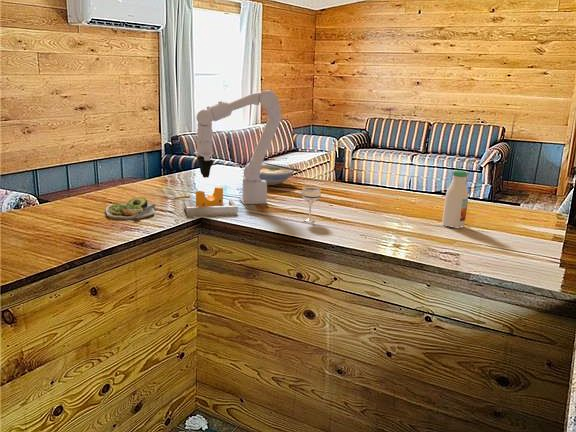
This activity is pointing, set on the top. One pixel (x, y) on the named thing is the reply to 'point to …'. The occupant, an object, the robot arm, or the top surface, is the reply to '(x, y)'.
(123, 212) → the salad plate
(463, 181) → the milk bottle
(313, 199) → the wineglass
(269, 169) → the ramen bowl
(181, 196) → the brass spoon
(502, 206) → the top surface
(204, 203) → the pipe clamp
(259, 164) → the robot arm
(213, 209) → the hitch bracket
